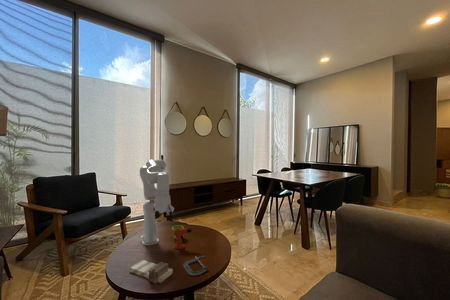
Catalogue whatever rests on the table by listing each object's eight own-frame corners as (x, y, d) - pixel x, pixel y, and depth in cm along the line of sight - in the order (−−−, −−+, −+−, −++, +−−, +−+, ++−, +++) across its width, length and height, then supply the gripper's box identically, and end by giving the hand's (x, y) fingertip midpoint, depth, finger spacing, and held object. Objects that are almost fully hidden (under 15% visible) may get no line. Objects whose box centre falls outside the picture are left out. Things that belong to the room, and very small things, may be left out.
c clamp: (180, 262, 143) (180, 257, 143) (205, 256, 150) (205, 252, 150) (188, 279, 124) (188, 274, 124) (216, 272, 131) (216, 267, 131)
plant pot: (172, 241, 173) (173, 230, 173) (170, 236, 181) (171, 226, 181) (184, 239, 177) (184, 228, 176) (182, 235, 185) (182, 224, 185)
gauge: (148, 281, 120) (148, 268, 120) (161, 271, 129) (161, 259, 129) (155, 283, 118) (155, 270, 118) (167, 274, 127) (167, 261, 127)
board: (129, 271, 130) (129, 267, 130) (142, 263, 139) (142, 259, 139) (160, 282, 120) (160, 278, 120) (172, 273, 129) (172, 269, 129)
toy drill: (199, 246, 160) (197, 226, 160) (174, 250, 159) (171, 230, 159) (200, 243, 165) (197, 224, 165) (175, 247, 164) (172, 227, 164)
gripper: (148, 192, 140) (148, 219, 140) (169, 195, 132) (169, 223, 132) (156, 190, 146) (156, 215, 146) (177, 193, 139) (177, 219, 139)
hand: (162, 219), depth 139 cm, fingers open, 9 cm apart
